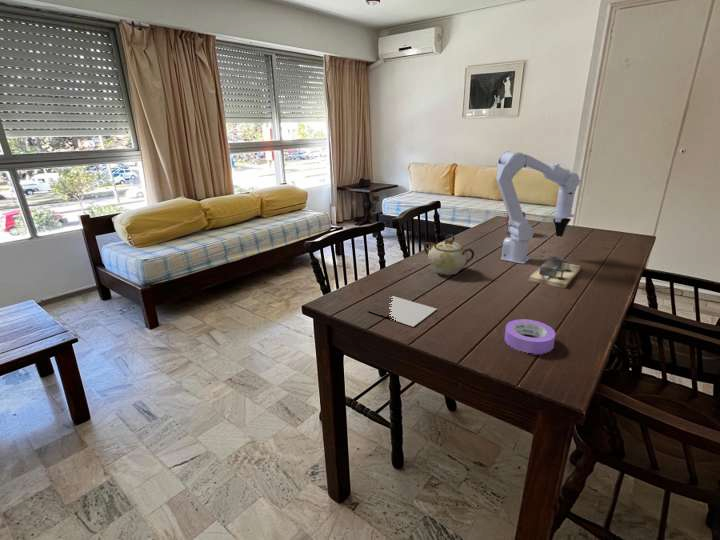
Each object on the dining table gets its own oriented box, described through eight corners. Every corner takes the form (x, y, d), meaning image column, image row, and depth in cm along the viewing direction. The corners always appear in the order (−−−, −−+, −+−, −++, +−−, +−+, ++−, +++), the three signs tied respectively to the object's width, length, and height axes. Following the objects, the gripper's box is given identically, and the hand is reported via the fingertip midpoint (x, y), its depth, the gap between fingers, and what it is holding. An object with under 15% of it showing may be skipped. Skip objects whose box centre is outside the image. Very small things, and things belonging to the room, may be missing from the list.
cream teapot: (477, 269, 148) (480, 232, 143) (466, 282, 136) (469, 242, 131) (430, 262, 158) (431, 227, 153) (415, 273, 146) (417, 236, 141)
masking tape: (503, 350, 95) (505, 337, 94) (504, 328, 105) (506, 316, 104) (555, 358, 91) (557, 345, 90) (551, 335, 101) (553, 322, 100)
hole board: (528, 280, 136) (530, 267, 134) (546, 263, 153) (548, 251, 151) (565, 288, 129) (567, 274, 127) (580, 269, 145) (582, 256, 144)
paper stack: (407, 288, 133) (407, 286, 133) (475, 306, 118) (475, 304, 118) (366, 313, 116) (366, 311, 116) (439, 337, 101) (440, 335, 101)
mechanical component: (522, 231, 199) (526, 236, 190) (502, 231, 201) (505, 236, 192) (525, 208, 194) (529, 212, 185) (504, 208, 196) (507, 212, 187)
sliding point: (546, 266, 143) (547, 258, 141) (548, 264, 145) (550, 256, 144) (568, 270, 138) (570, 262, 137) (570, 268, 140) (572, 260, 139)
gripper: (571, 207, 143) (565, 241, 148) (579, 201, 153) (574, 233, 158) (551, 205, 147) (546, 238, 152) (561, 199, 158) (556, 231, 162)
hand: (559, 236), depth 155 cm, fingers closed
